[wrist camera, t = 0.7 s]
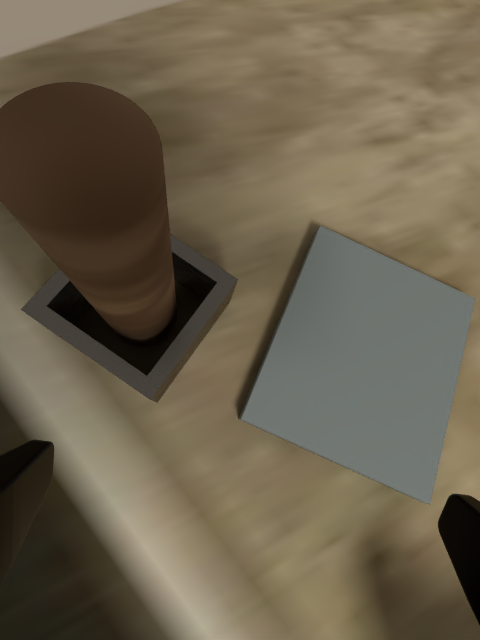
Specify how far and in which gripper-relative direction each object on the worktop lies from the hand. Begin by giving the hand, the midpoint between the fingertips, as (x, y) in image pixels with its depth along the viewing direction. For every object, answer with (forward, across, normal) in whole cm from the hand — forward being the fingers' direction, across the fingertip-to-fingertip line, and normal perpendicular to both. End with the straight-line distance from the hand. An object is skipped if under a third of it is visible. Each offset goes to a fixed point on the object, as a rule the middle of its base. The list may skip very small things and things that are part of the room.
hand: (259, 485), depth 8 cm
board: (+14, -9, +1) cm, 17 cm away
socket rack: (+15, +6, +1) cm, 16 cm away
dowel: (+15, +6, +1) cm, 16 cm away
